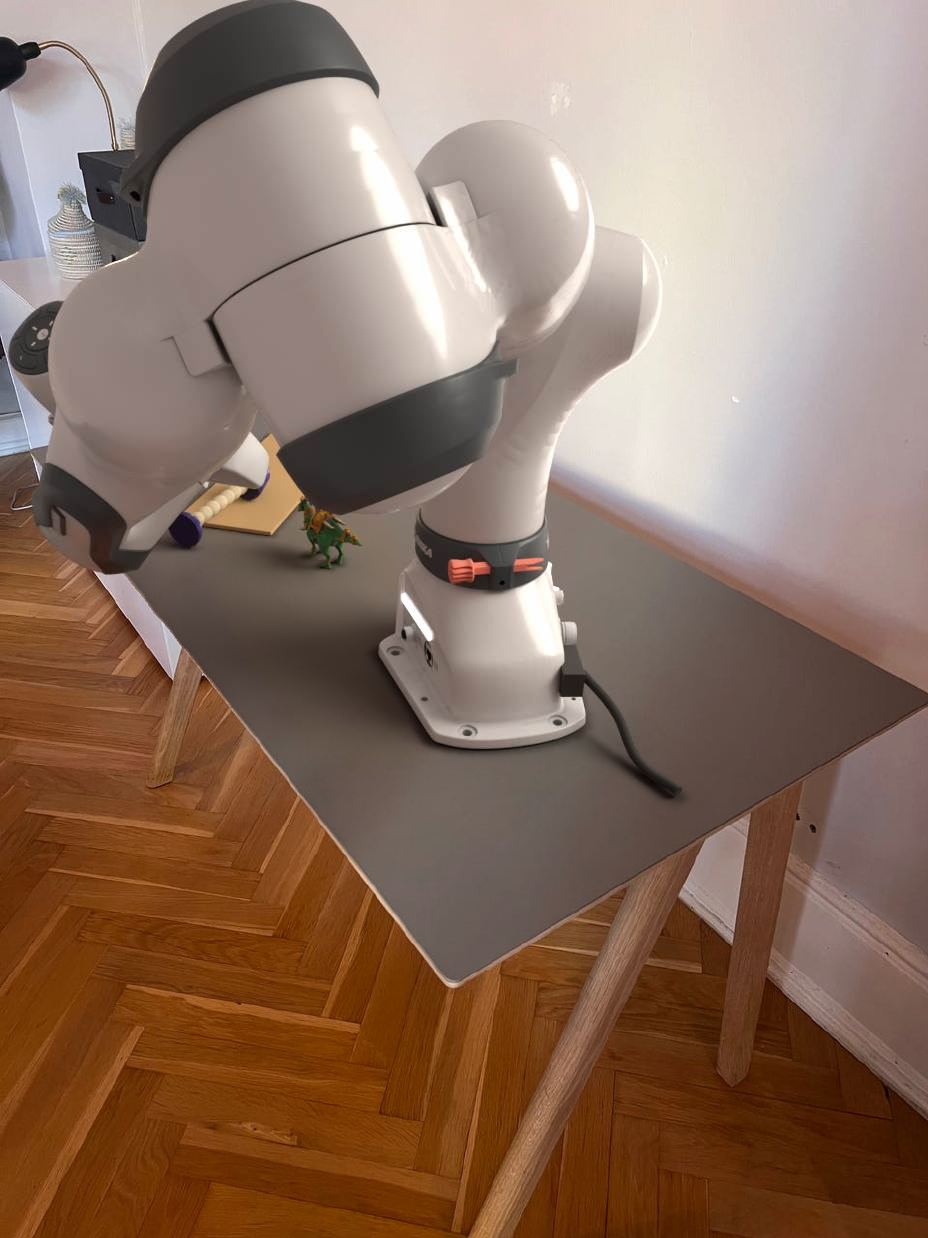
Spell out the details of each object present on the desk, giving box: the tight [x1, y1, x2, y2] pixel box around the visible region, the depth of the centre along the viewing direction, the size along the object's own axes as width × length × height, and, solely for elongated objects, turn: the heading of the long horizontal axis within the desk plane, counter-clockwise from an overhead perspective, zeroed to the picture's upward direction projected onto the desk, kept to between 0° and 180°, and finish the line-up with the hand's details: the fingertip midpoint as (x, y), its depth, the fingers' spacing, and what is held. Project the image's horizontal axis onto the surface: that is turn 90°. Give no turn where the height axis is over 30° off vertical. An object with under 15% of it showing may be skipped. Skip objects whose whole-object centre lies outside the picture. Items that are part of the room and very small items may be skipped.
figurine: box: [297, 495, 363, 569], centre depth 100 cm, size 3×12×8 cm, turn 42°
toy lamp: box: [167, 469, 270, 548], centre depth 109 cm, size 5×5×17 cm
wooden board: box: [183, 433, 304, 536], centre depth 121 cm, size 30×12×1 cm, turn 168°
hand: (196, 480), depth 99 cm, fingers closed
